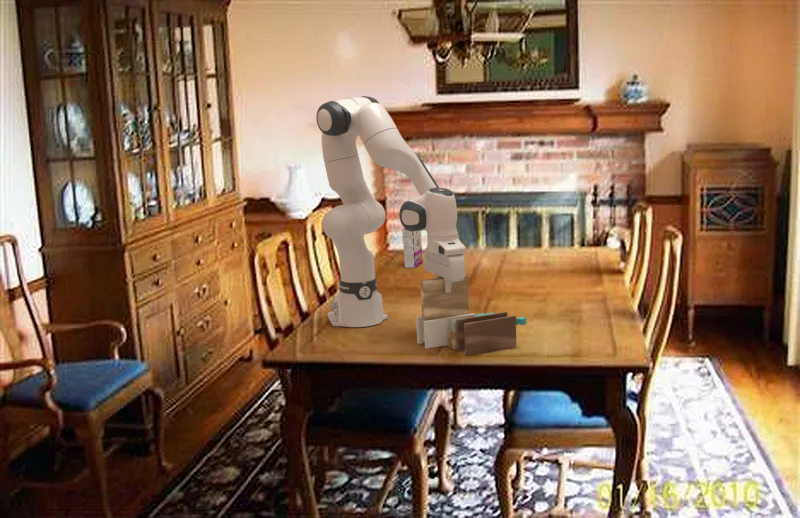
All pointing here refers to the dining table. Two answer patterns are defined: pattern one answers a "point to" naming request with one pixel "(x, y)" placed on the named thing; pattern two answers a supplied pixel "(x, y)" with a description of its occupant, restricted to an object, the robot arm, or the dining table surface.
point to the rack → (486, 333)
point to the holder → (435, 331)
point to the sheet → (443, 299)
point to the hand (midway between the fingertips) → (444, 291)
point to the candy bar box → (412, 248)
